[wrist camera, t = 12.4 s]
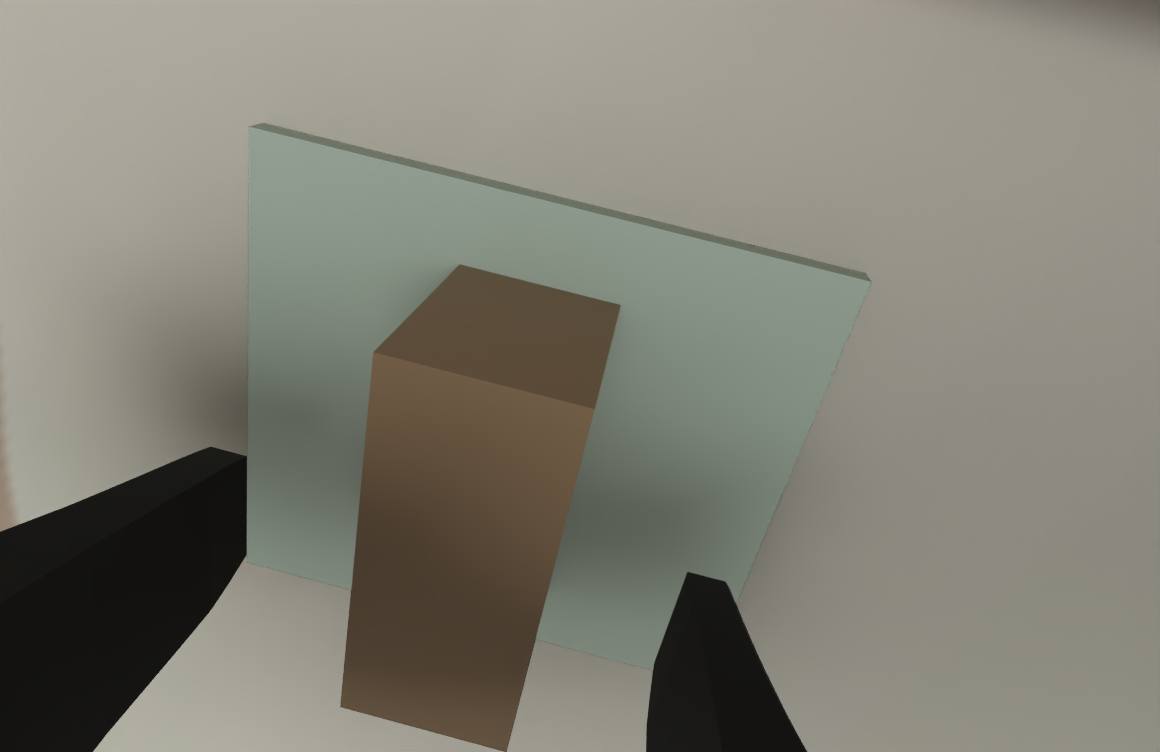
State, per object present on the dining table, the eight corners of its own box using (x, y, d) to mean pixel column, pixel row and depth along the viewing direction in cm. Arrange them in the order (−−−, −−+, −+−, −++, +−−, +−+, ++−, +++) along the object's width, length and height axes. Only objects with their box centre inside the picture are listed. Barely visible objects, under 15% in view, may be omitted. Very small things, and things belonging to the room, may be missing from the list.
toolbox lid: (859, 264, 13) (947, 386, 9) (701, 650, 18) (706, 862, 13) (278, 120, 13) (71, 164, 9) (269, 536, 18) (128, 704, 13)
